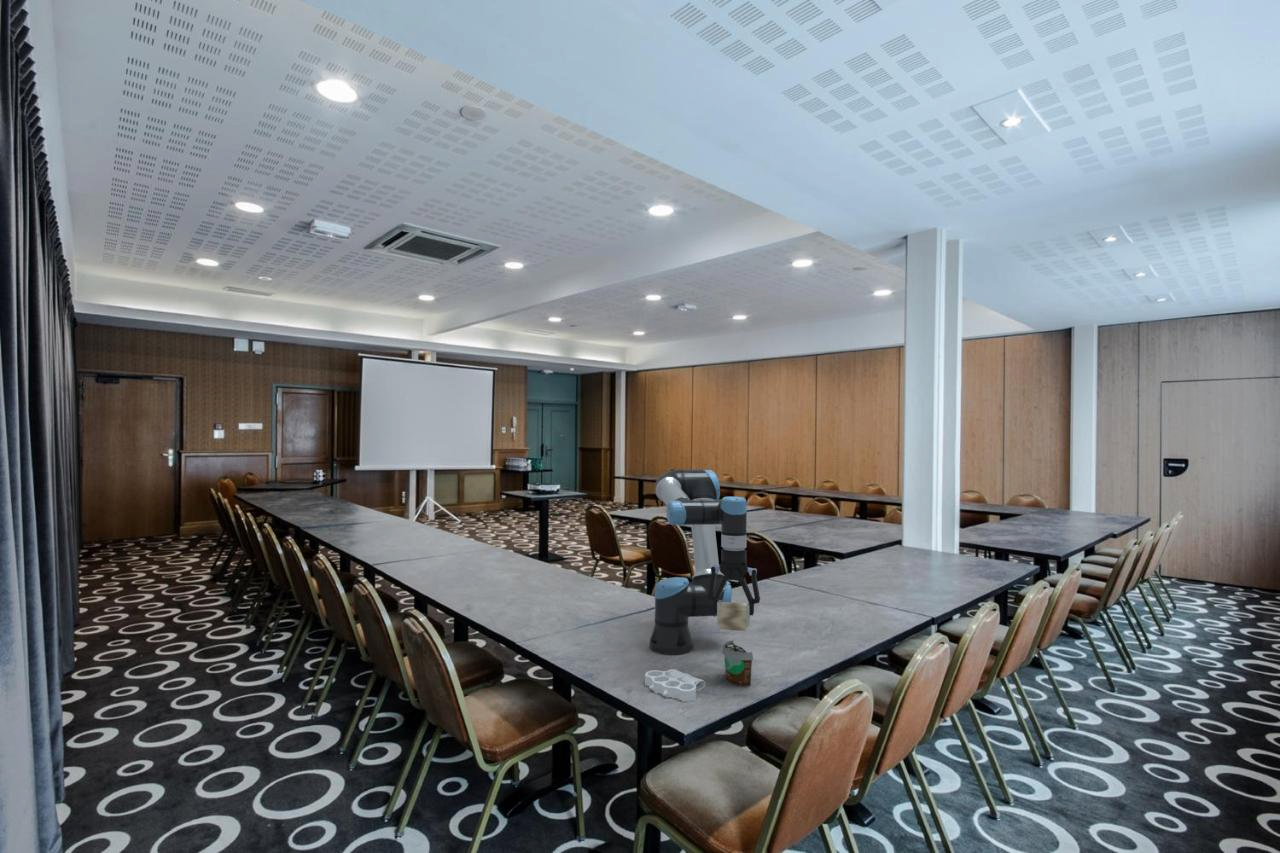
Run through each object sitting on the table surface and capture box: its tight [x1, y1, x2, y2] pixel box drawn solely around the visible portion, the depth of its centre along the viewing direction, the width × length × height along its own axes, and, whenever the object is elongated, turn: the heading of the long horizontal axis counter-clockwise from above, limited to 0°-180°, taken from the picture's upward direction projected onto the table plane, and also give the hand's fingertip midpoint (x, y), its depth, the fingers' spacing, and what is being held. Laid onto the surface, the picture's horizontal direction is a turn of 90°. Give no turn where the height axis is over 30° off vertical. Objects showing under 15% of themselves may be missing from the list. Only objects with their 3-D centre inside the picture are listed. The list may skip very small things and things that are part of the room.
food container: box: [721, 639, 754, 687], centre depth 183 cm, size 12×6×10 cm, turn 21°
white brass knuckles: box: [644, 668, 706, 702], centre depth 176 cm, size 3×18×15 cm
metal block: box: [717, 601, 748, 632], centre depth 182 cm, size 8×8×6 cm
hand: (733, 624), depth 183 cm, fingers closed on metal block, 8 cm apart
